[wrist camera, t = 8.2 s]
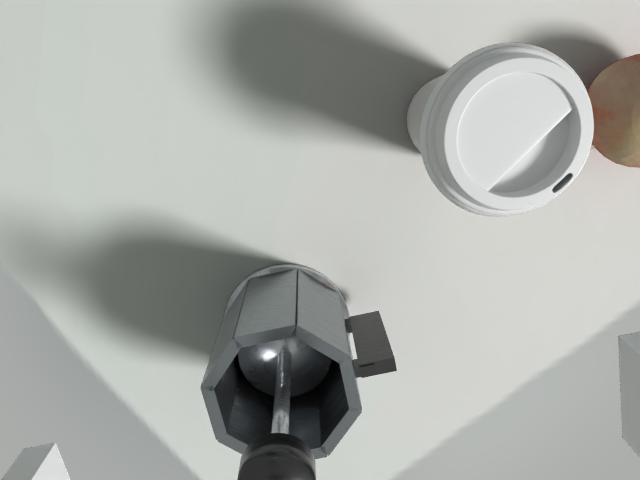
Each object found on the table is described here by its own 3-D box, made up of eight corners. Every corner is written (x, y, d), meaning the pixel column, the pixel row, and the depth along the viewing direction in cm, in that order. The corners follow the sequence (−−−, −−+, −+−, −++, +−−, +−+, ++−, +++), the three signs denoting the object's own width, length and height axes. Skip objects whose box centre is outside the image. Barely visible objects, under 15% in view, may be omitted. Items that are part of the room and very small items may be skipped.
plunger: (229, 318, 43) (188, 451, 27) (320, 299, 42) (330, 422, 27) (251, 399, 44) (224, 566, 29) (339, 381, 44) (358, 540, 29)
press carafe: (210, 278, 47) (180, 342, 35) (364, 245, 47) (384, 299, 35) (241, 389, 50) (223, 482, 38) (386, 360, 49) (412, 444, 38)
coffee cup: (413, 198, 46) (465, 252, 31) (367, 86, 43) (400, 88, 29) (525, 149, 45) (631, 181, 30) (485, 32, 42) (579, 6, 28)
